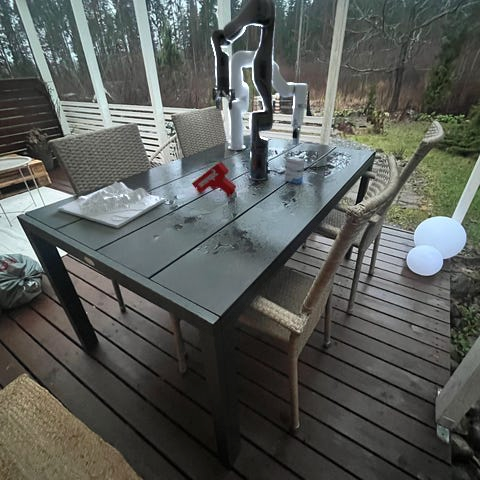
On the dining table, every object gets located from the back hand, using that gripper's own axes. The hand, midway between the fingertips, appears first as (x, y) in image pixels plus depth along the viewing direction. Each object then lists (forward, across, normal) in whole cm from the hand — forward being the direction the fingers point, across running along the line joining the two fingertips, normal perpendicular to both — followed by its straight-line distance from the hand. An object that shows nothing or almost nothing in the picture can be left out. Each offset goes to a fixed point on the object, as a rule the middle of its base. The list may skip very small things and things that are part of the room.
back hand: (296, 136), depth 178 cm
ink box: (+12, +47, +16) cm, 51 cm away
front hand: (-18, +35, -33) cm, 52 cm away
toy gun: (+12, +80, -13) cm, 81 cm away
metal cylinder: (+5, 0, 0) cm, 5 cm away
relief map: (+13, +112, -45) cm, 121 cm away
